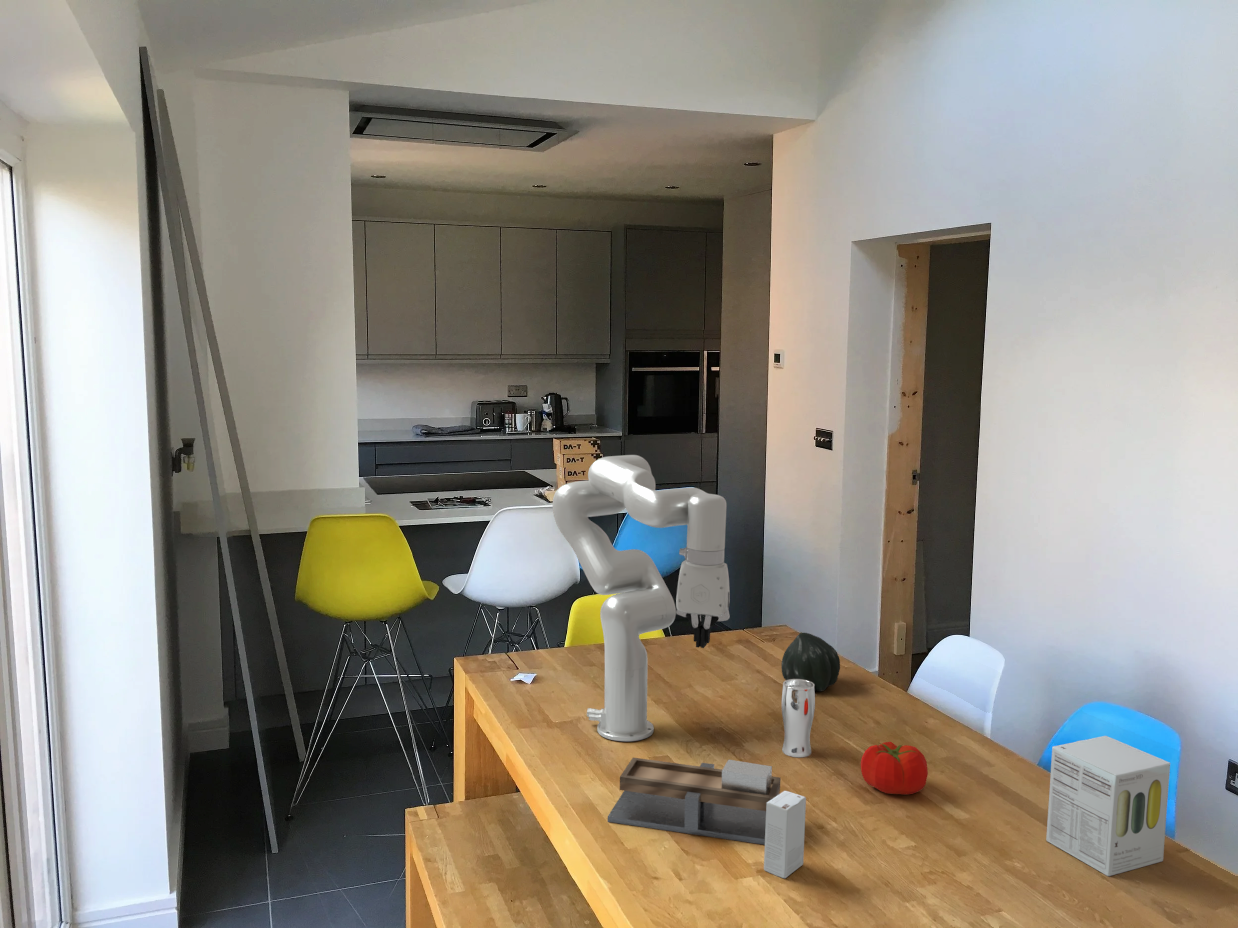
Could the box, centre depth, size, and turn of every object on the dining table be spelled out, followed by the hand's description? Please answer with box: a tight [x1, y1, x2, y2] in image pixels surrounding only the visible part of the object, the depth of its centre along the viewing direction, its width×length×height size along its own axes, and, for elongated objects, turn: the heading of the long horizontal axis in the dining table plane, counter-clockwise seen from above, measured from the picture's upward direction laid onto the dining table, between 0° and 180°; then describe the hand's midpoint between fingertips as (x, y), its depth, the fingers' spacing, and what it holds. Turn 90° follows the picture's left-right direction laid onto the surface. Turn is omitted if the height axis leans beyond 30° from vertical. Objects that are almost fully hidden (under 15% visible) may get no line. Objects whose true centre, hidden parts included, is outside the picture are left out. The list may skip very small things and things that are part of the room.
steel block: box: [721, 759, 773, 795], centre depth 176 cm, size 8×5×4 cm, turn 70°
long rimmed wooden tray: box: [619, 757, 781, 811], centre depth 179 cm, size 28×9×2 cm, turn 74°
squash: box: [781, 632, 841, 692], centre depth 250 cm, size 14×15×15 cm
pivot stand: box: [607, 762, 766, 846], centre depth 179 cm, size 31×15×7 cm, turn 74°
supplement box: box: [1045, 735, 1171, 877], centre depth 167 cm, size 13×13×18 cm
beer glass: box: [781, 679, 816, 759], centre depth 208 cm, size 7×7×15 cm
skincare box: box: [763, 790, 807, 879], centre depth 161 cm, size 6×4×12 cm
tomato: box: [860, 741, 929, 796], centre depth 192 cm, size 13×12×8 cm
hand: (701, 645), depth 197 cm, fingers closed
